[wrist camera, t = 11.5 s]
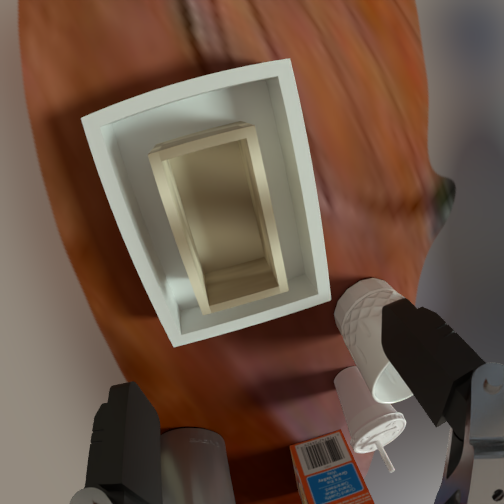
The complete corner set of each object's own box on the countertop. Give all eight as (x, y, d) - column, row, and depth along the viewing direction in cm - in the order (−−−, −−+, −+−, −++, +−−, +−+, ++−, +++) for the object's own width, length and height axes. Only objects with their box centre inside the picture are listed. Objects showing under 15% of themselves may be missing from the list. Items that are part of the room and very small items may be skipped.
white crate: (314, 275, 29) (331, 300, 25) (174, 317, 28) (173, 347, 24) (273, 65, 21) (289, 58, 17) (97, 115, 20) (80, 117, 16)
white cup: (407, 280, 32) (464, 337, 23) (372, 338, 34) (415, 401, 25) (350, 264, 29) (409, 330, 20) (315, 331, 32) (354, 406, 23)
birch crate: (271, 257, 26) (288, 290, 22) (199, 278, 26) (202, 315, 21) (240, 120, 21) (254, 125, 17) (156, 144, 21) (147, 154, 16)
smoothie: (314, 379, 35) (359, 479, 23) (361, 349, 35) (420, 443, 22) (335, 400, 38) (377, 487, 26) (377, 373, 38) (428, 456, 25)
